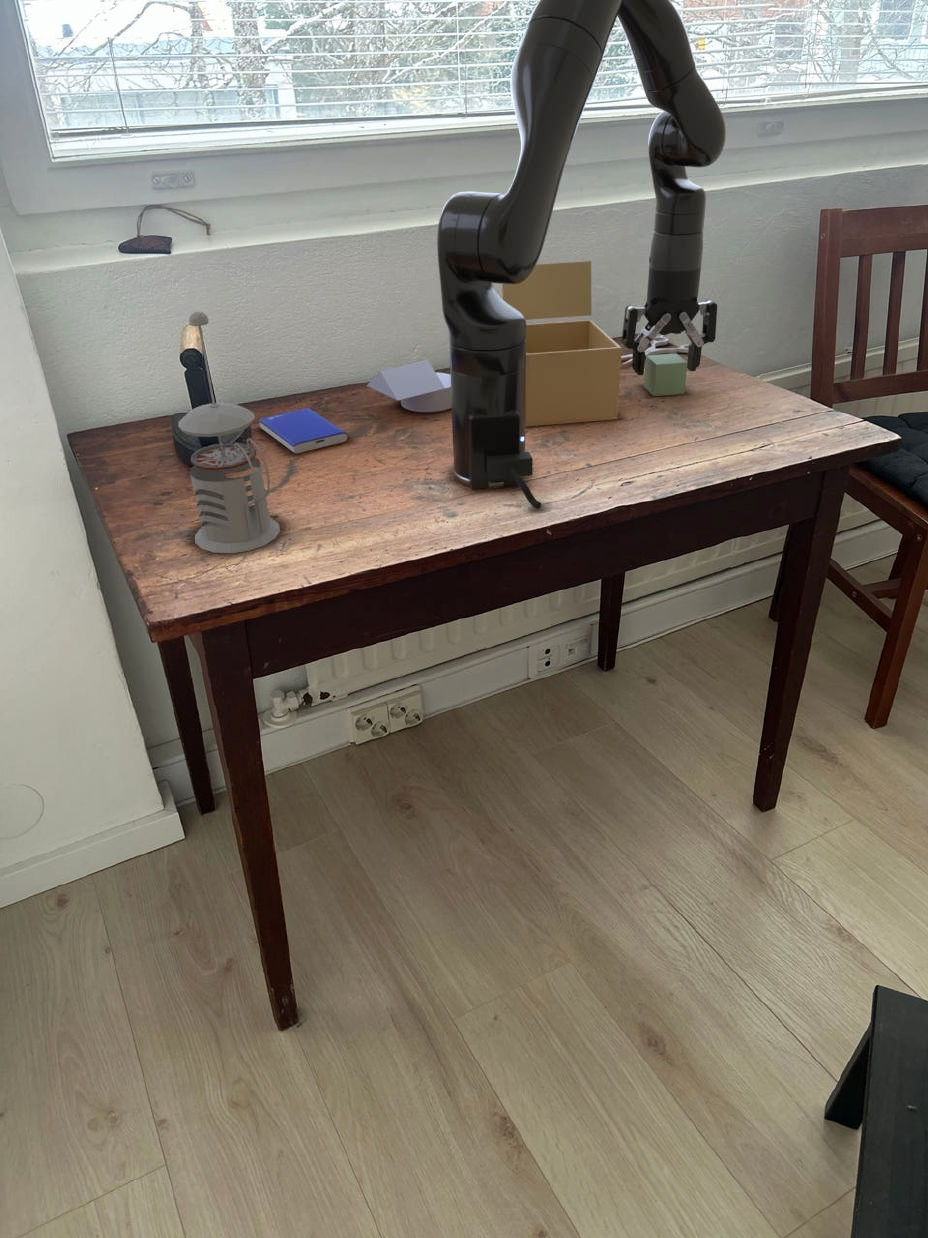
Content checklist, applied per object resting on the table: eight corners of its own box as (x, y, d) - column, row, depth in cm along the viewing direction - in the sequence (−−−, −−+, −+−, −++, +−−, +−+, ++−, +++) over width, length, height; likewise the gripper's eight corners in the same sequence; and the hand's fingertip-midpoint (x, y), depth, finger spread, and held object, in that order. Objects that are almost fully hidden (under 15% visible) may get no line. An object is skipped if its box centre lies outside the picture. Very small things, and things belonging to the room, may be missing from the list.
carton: (503, 392, 144) (503, 325, 138) (588, 385, 145) (591, 319, 139) (524, 426, 130) (524, 354, 125) (617, 419, 132) (622, 347, 126)
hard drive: (258, 418, 132) (292, 443, 123) (309, 407, 135) (346, 430, 126) (260, 428, 132) (294, 454, 124) (310, 417, 136) (347, 441, 127)
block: (684, 393, 140) (687, 362, 138) (653, 396, 140) (656, 364, 137) (673, 384, 145) (676, 353, 142) (643, 386, 144) (646, 355, 141)
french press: (246, 507, 110) (209, 295, 96) (307, 534, 103) (277, 311, 89) (177, 536, 103) (127, 315, 90) (238, 567, 97) (194, 333, 83)
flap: (503, 321, 137) (503, 320, 138) (591, 315, 139) (590, 315, 139) (501, 266, 134) (501, 266, 135) (591, 260, 136) (590, 260, 136)
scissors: (709, 344, 160) (634, 367, 149) (708, 348, 160) (634, 372, 150) (662, 333, 167) (588, 354, 156) (662, 337, 167) (588, 359, 157)
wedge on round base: (399, 422, 133) (469, 403, 139) (395, 377, 130) (468, 360, 136) (368, 406, 139) (437, 389, 146) (364, 363, 136) (435, 347, 142)
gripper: (636, 271, 128) (629, 383, 137) (731, 265, 130) (717, 375, 139) (621, 261, 134) (614, 368, 143) (711, 255, 136) (699, 361, 145)
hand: (665, 371), depth 141 cm, fingers open, 8 cm apart
